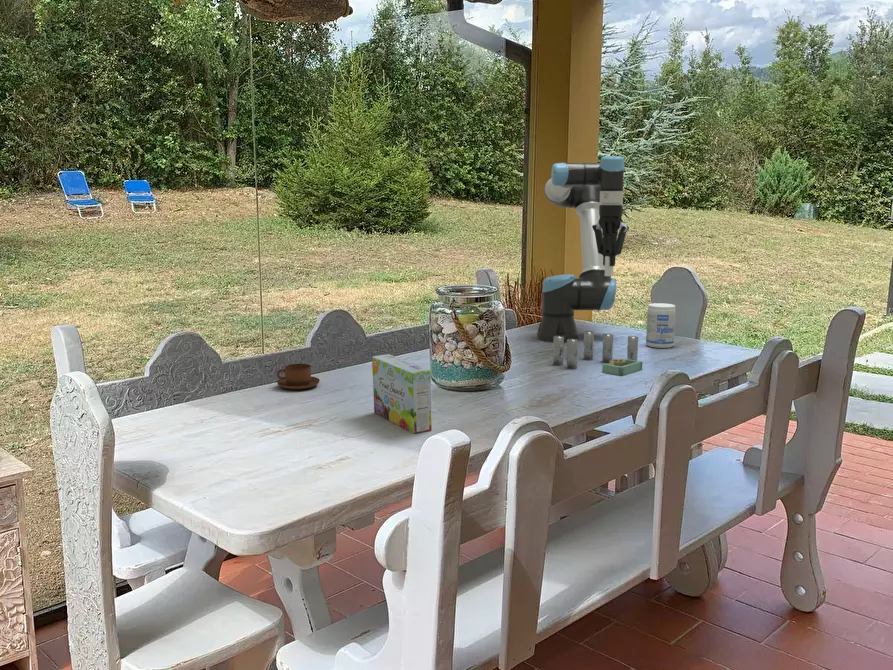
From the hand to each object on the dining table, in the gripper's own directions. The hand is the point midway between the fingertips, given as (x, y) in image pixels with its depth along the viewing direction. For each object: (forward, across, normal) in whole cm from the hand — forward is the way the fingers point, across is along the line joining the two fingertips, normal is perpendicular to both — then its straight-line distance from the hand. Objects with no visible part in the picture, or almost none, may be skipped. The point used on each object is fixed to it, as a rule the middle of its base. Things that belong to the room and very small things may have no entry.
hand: (608, 275), depth 283 cm
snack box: (+27, +9, -103) cm, 107 cm away
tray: (+26, +18, -19) cm, 37 cm away
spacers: (+26, +7, -18) cm, 33 cm away
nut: (+26, +17, -19) cm, 37 cm away
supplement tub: (+27, +7, +23) cm, 36 cm away
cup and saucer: (+27, -38, -100) cm, 110 cm away
